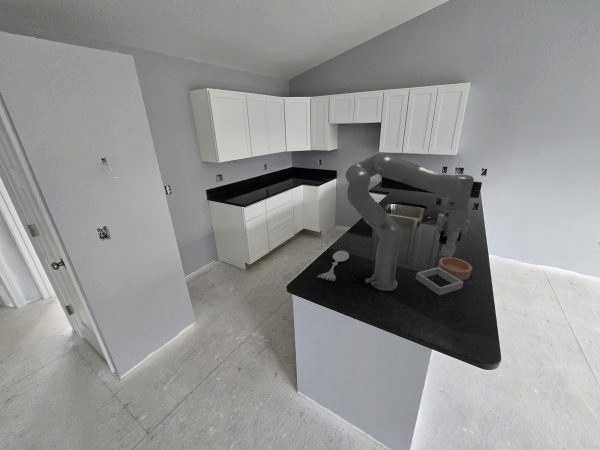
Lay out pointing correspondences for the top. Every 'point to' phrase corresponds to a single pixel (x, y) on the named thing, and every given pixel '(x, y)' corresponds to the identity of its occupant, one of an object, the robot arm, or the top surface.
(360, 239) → the top surface
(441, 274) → the parts tray
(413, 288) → the top surface
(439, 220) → the supplement box
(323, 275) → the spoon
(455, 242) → the syrup box
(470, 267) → the bowl
